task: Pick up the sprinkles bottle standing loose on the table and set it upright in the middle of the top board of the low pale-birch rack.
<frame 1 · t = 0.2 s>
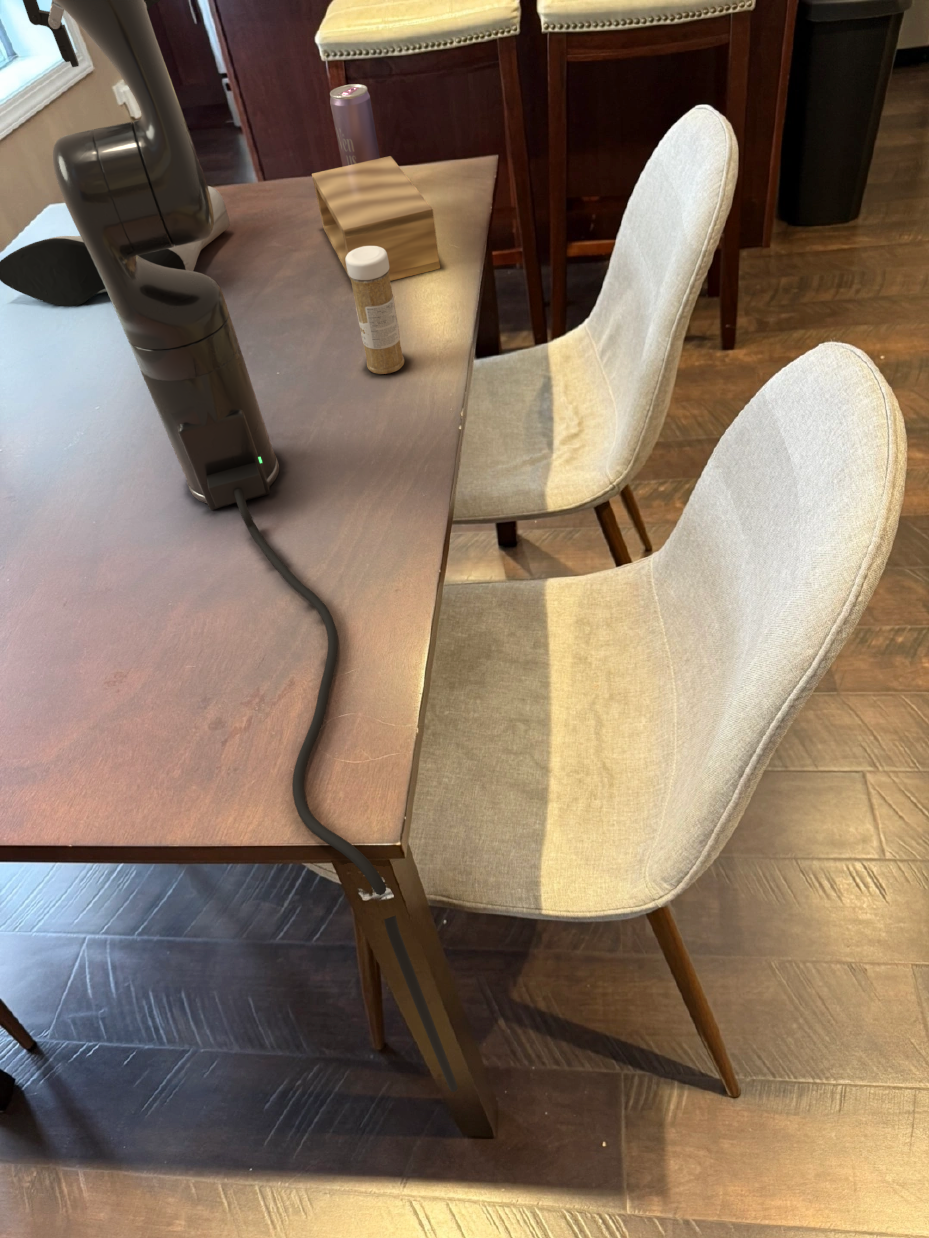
hand: (113, 58, 99), 29 cm above the table, tool pointing down, fingers open, 8 cm apart
rack: (378, 248, 125), on the table
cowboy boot: (132, 267, 129), on the table
beverage can: (367, 196, 139), on the table
sprinkles bottle: (386, 367, 102), on the table
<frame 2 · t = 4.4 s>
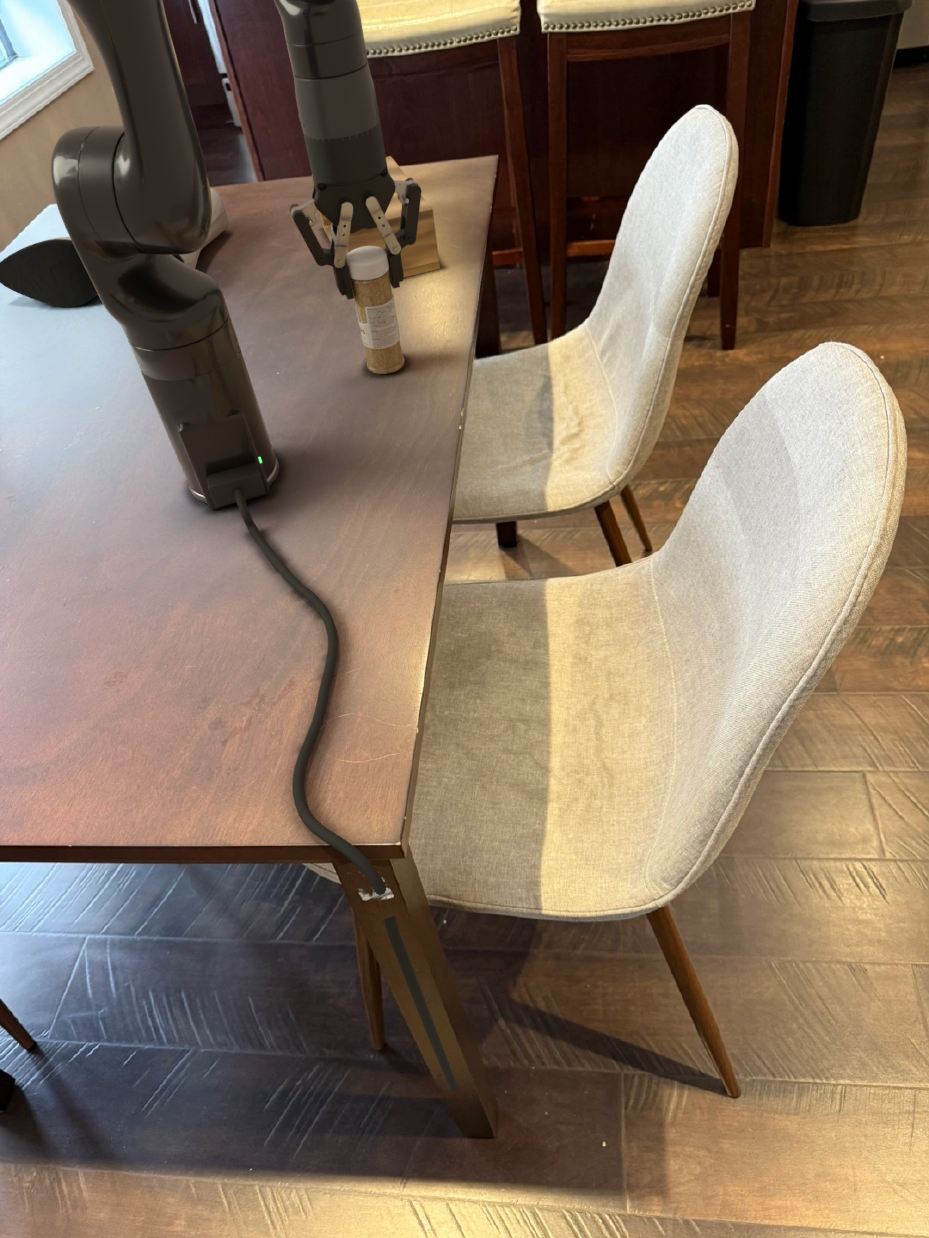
hand: (372, 290, 95), 9 cm above the table, tool pointing down, fingers closed on sprinkles bottle, 4 cm apart
sprinkles bottle: (386, 367, 102), on the table, touching gripper
everything else where it was.
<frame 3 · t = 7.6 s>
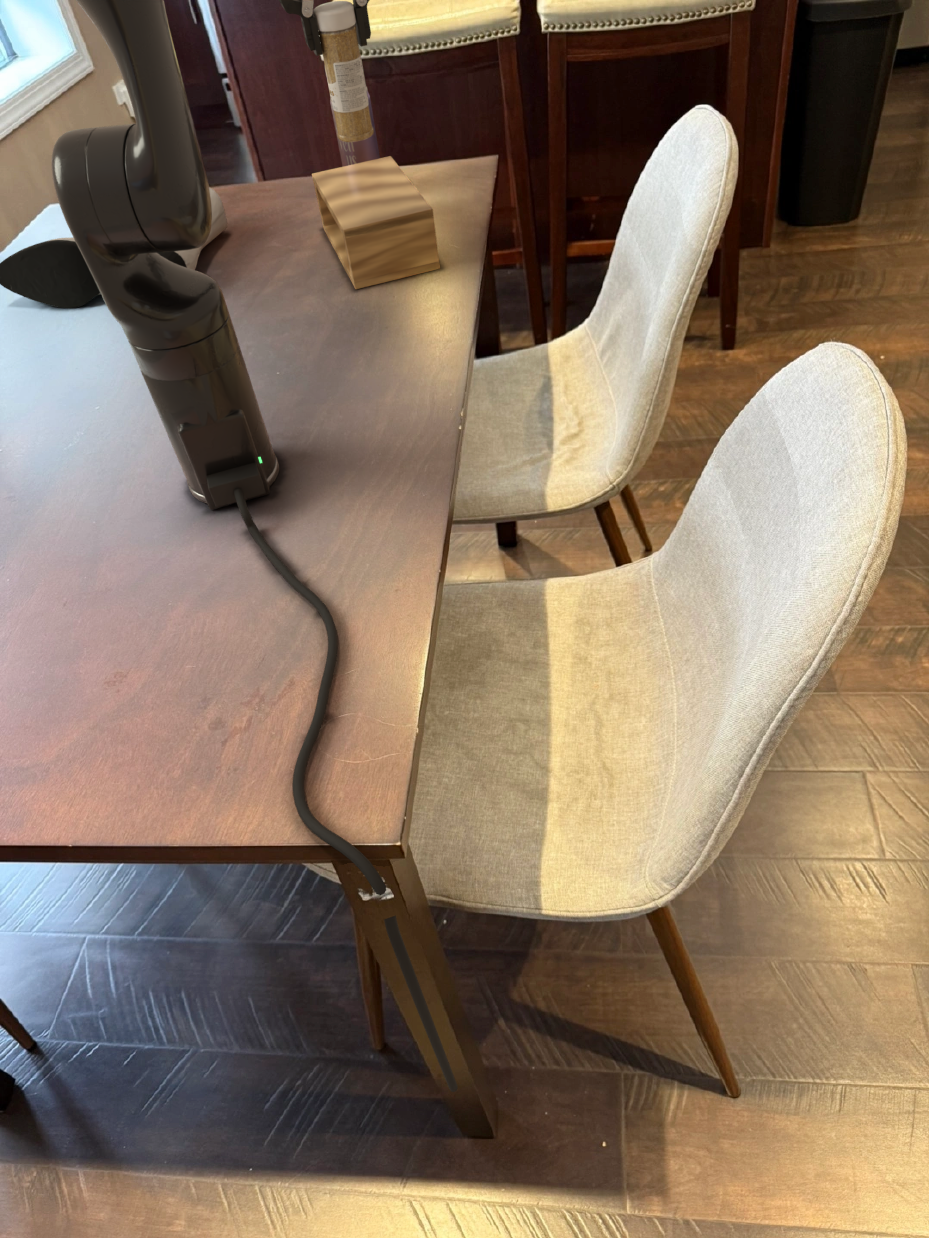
hand: (340, 48, 98), 27 cm above the table, tool pointing down, fingers closed on sprinkles bottle, 4 cm apart
sprinkles bottle: (356, 138, 105), point 17 cm above the table, touching gripper
everything else where it was.
when the fingers open (17 cm above the table, at t = 10.8 s): sprinkles bottle stays where it is, resting on rack.
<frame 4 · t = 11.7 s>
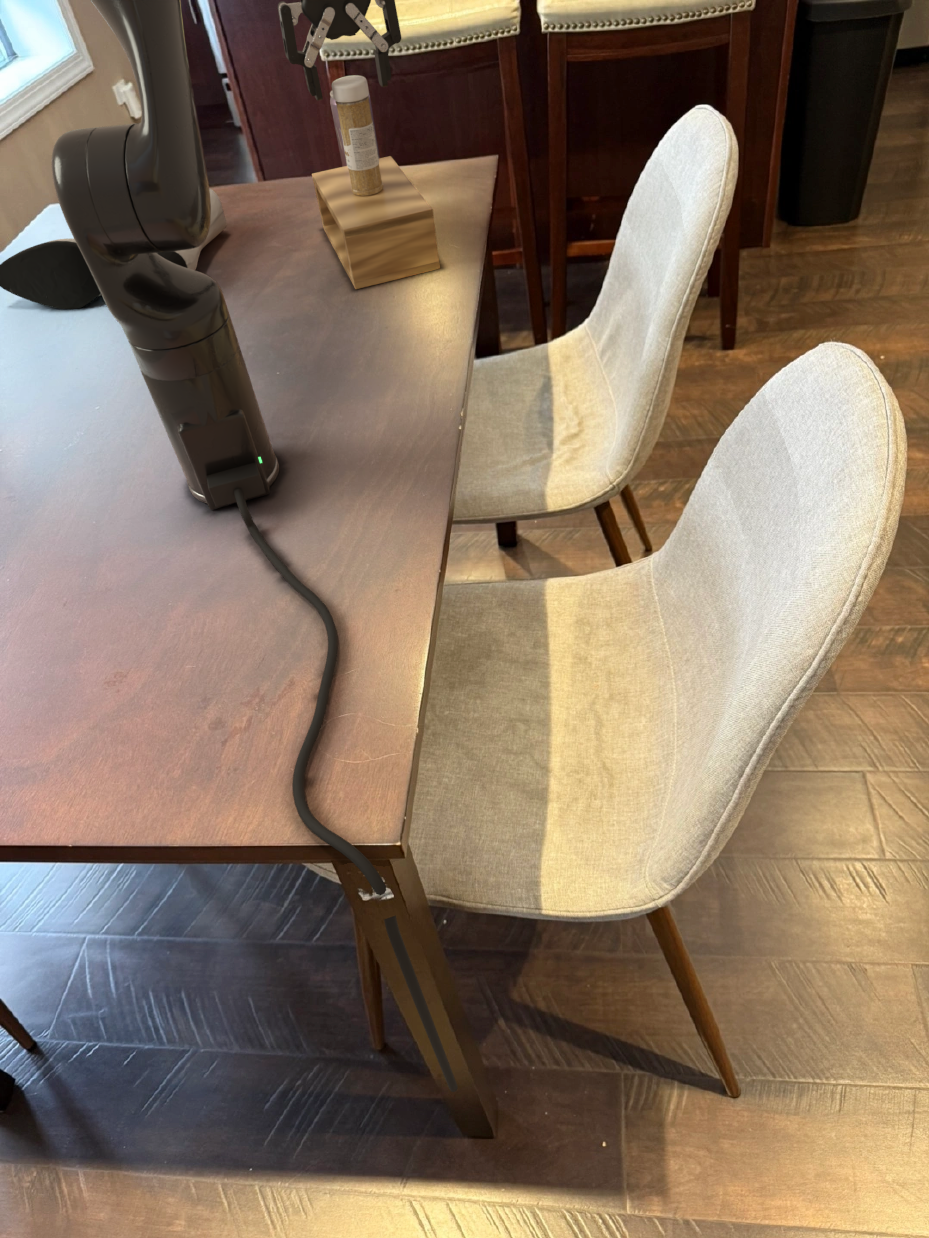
hand: (351, 92, 110), 20 cm above the table, tool pointing down, fingers open, 8 cm apart
sprinkles bottle: (368, 192, 119), point 8 cm above the table, touching rack
everything else where it was.
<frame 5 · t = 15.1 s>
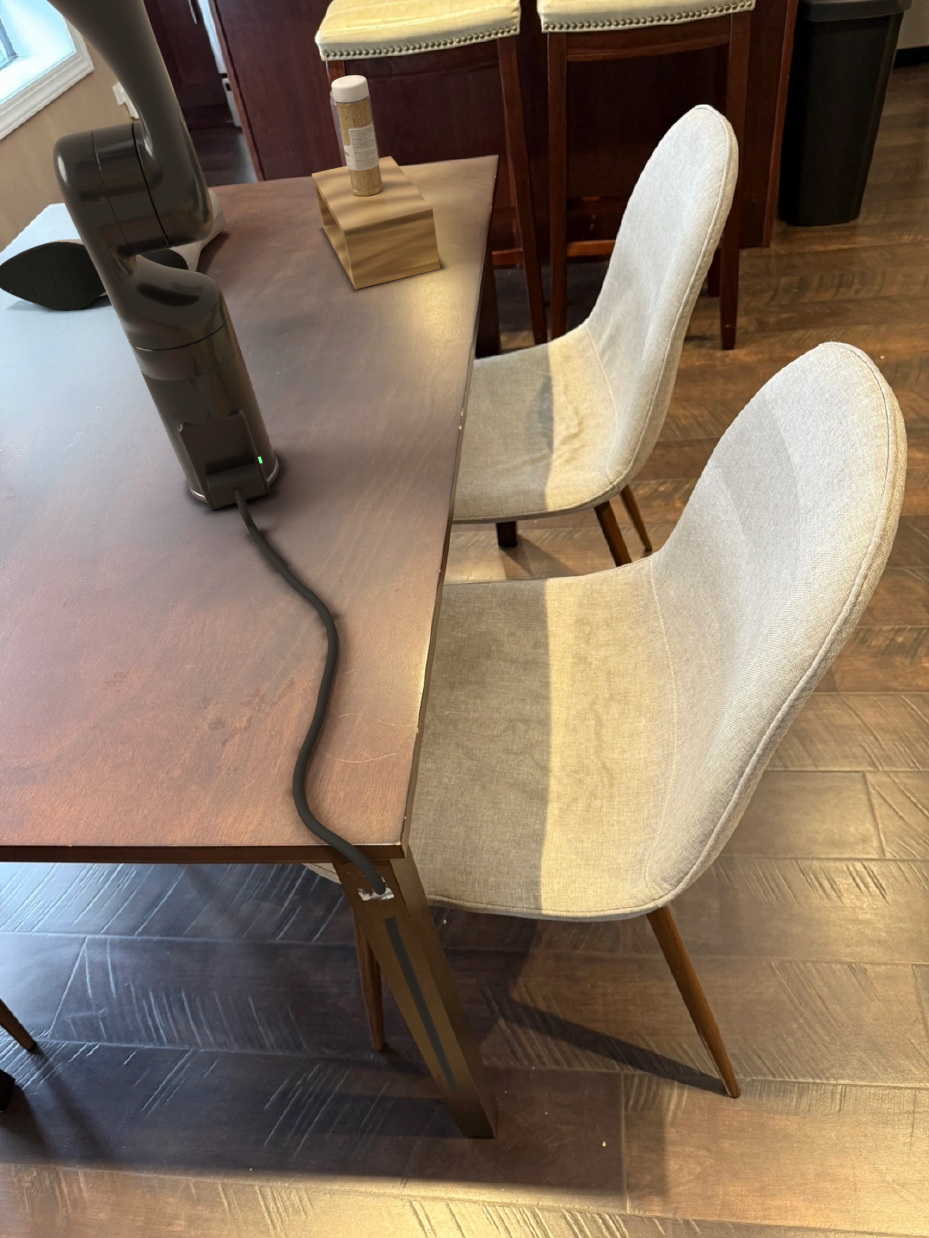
nothing on the table moved.
at the end: sprinkles bottle inside the target area on the rack (0.1 cm from its centre), point 7.8 cm above the rack's base; sprinkles bottle tilted 0°; the gripper is holding nothing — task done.
